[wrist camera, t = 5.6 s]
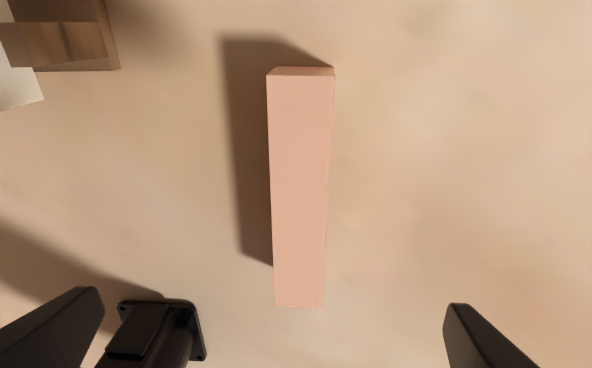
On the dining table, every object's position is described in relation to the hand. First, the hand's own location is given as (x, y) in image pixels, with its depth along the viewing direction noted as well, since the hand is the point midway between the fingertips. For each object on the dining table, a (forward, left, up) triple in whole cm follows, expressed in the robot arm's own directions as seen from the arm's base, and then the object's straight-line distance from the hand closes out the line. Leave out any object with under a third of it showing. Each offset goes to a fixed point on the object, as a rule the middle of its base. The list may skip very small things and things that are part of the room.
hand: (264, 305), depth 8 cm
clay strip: (-3, 0, -12) cm, 12 cm away
